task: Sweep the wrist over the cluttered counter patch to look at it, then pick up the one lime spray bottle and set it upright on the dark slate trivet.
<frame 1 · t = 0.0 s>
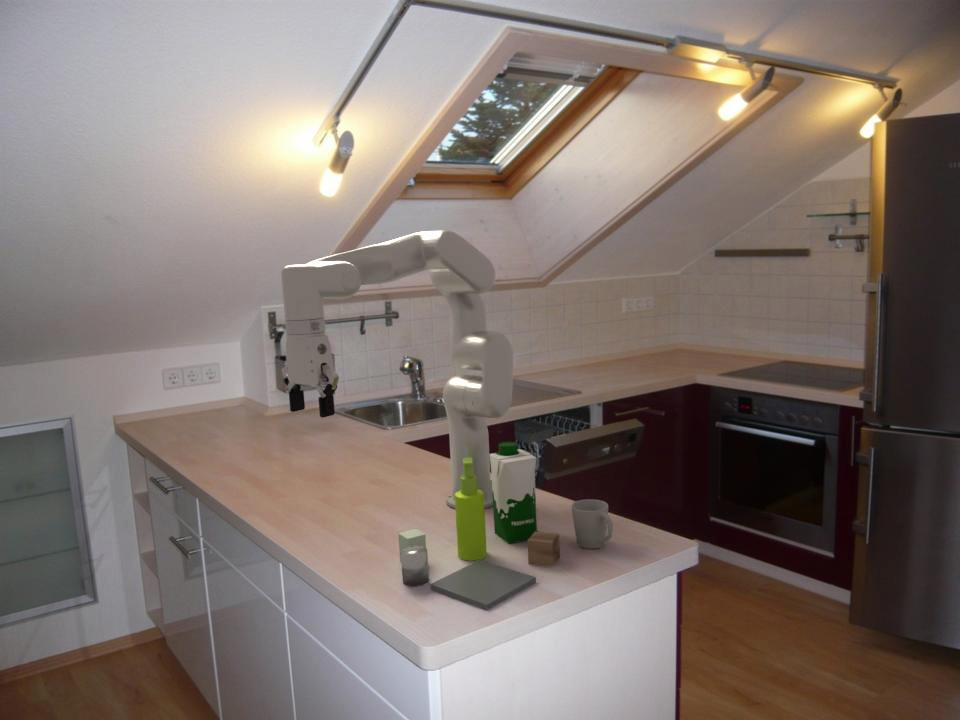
hand: (312, 413, 159), 31 cm above the worktop, fingers open, 9 cm apart
cup: (594, 546, 166), on the worktop
pale green box: (413, 562, 162), on the worktop
metal tin: (415, 580, 153), on the worktop
slate trivet: (483, 585, 150), on the worktop
milk carton: (516, 536, 174), on the worktop
lime spray bottle: (472, 554, 165), on the worktop
walnut block: (544, 560, 160), on the worktop
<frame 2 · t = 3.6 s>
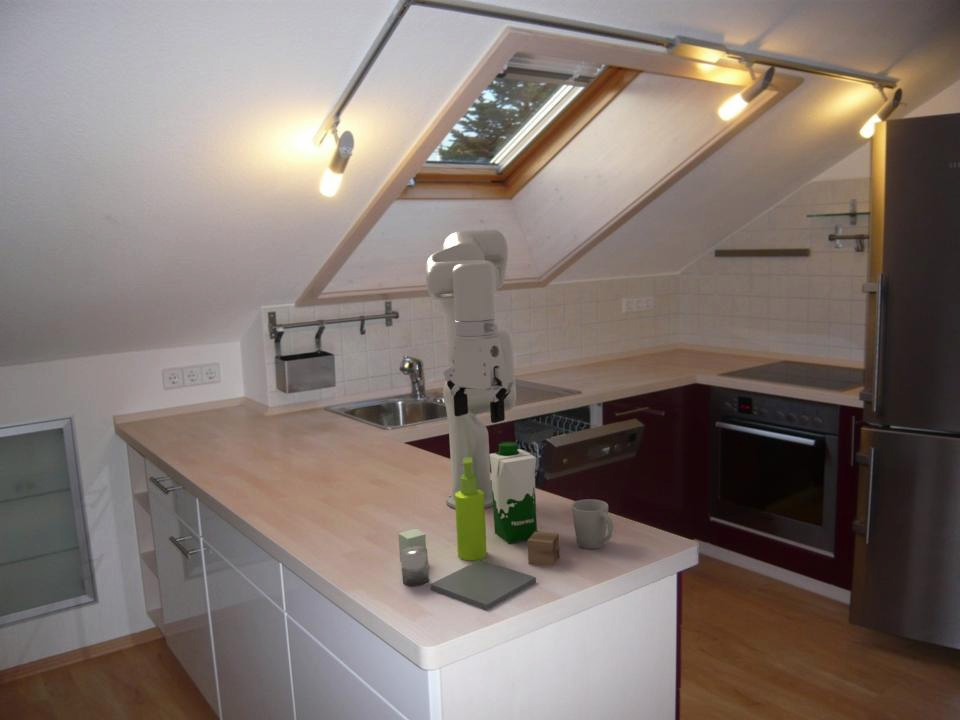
hand: (479, 418, 153), 30 cm above the worktop, fingers open, 9 cm apart
nothing on the worktop moved.
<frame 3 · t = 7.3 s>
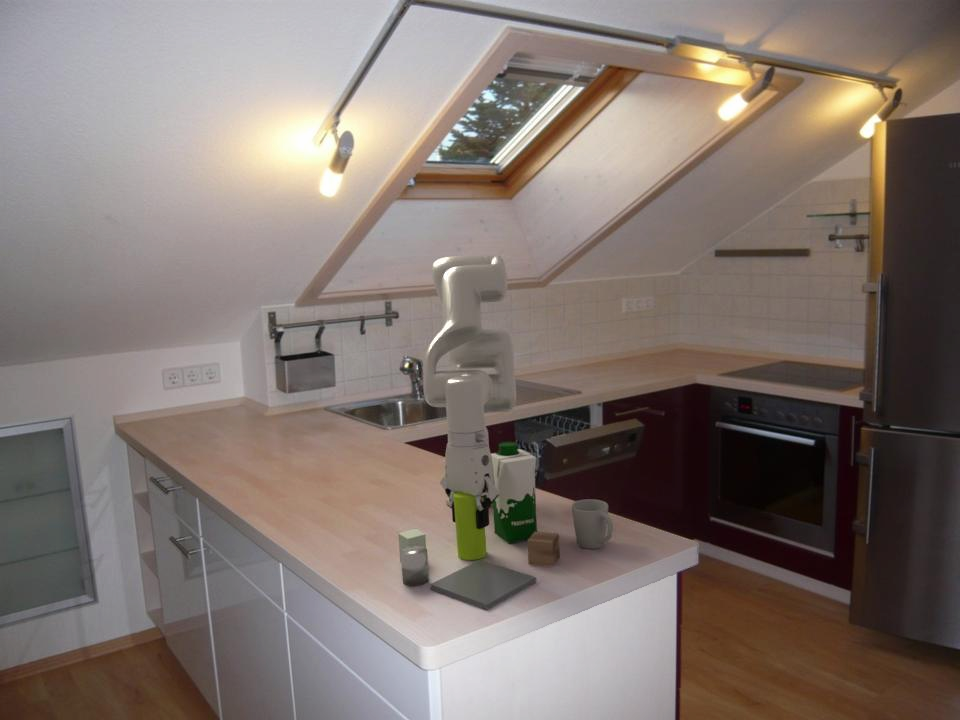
hand: (470, 523, 164), 7 cm above the worktop, fingers closed on lime spray bottle, 5 cm apart
lime spray bottle: (472, 554, 165), on the worktop, touching gripper
everything else where it was.
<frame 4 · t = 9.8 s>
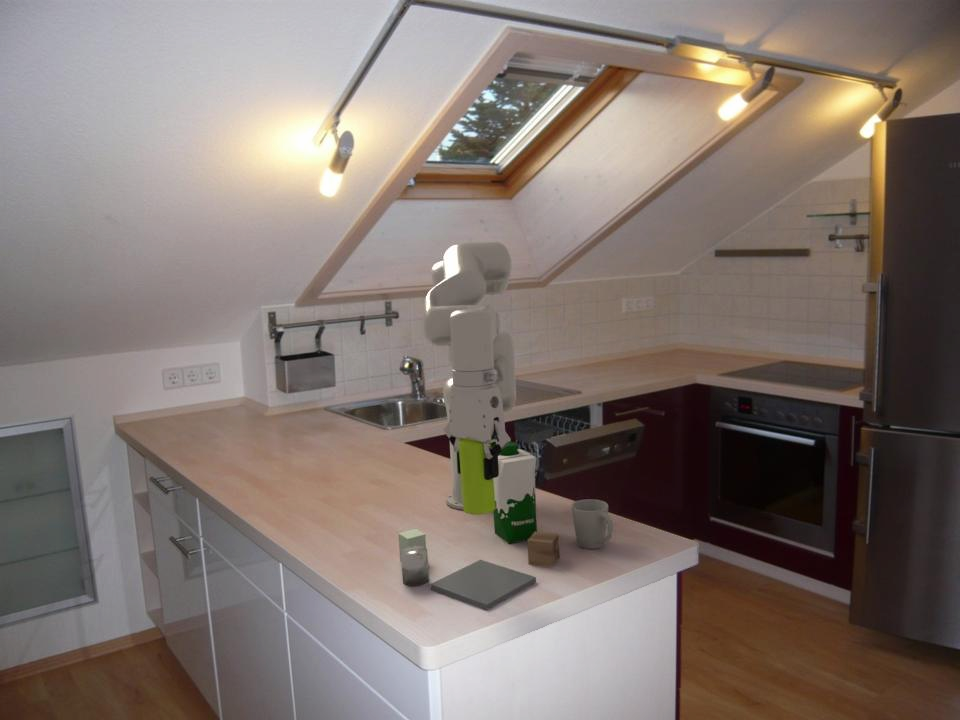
hand: (478, 474, 146), 22 cm above the worktop, fingers closed on lime spray bottle, 5 cm apart
lime spray bottle: (479, 509, 148), point 15 cm above the worktop, touching gripper
everything else where it was.
when the fingers open (9 cm above the worktop, at t = 12.6 s): lime spray bottle drops 1 cm, resting on slate trivet.
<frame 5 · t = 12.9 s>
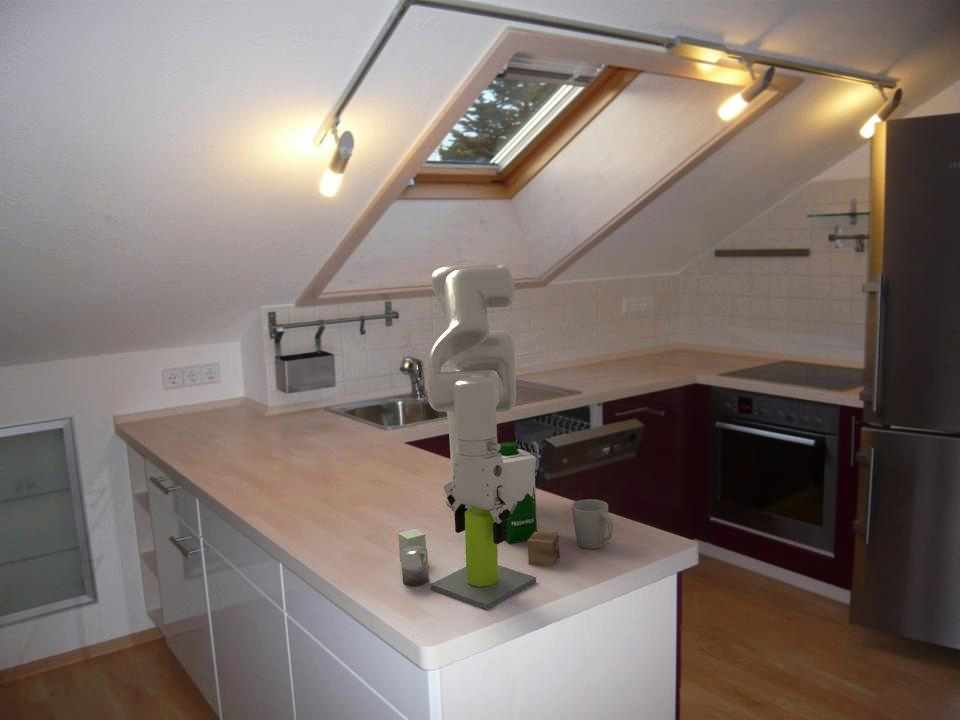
hand: (481, 536, 148), 10 cm above the worktop, fingers open, 9 cm apart
lime spray bottle: (482, 580, 150), point 1 cm above the worktop, touching slate trivet
everything else where it was.
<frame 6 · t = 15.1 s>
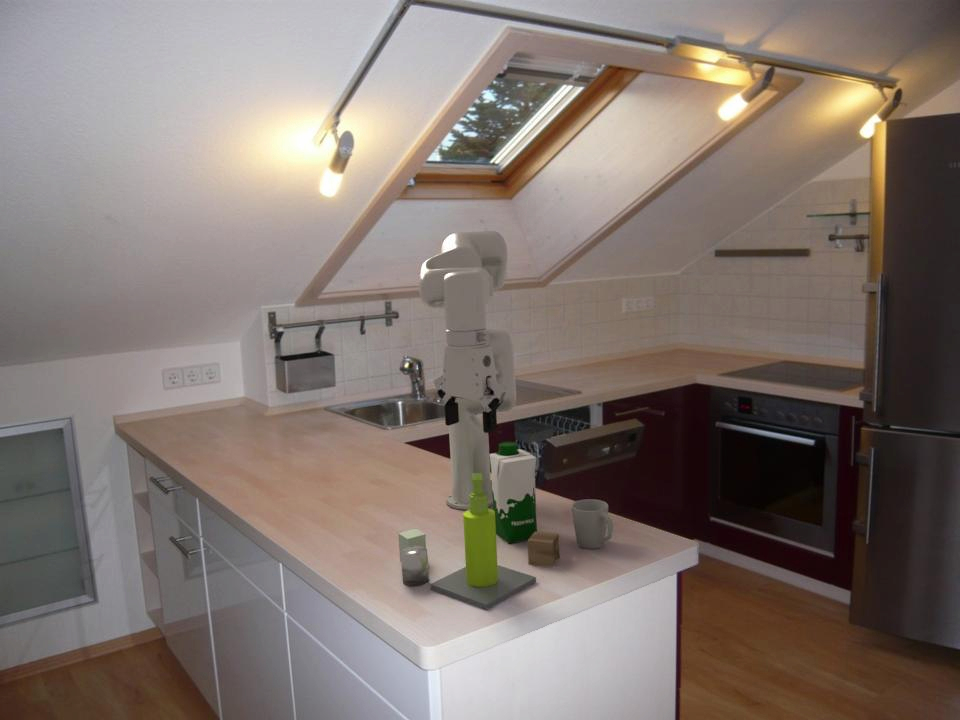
hand: (470, 427, 152), 29 cm above the worktop, fingers open, 9 cm apart
nothing on the worktop moved.
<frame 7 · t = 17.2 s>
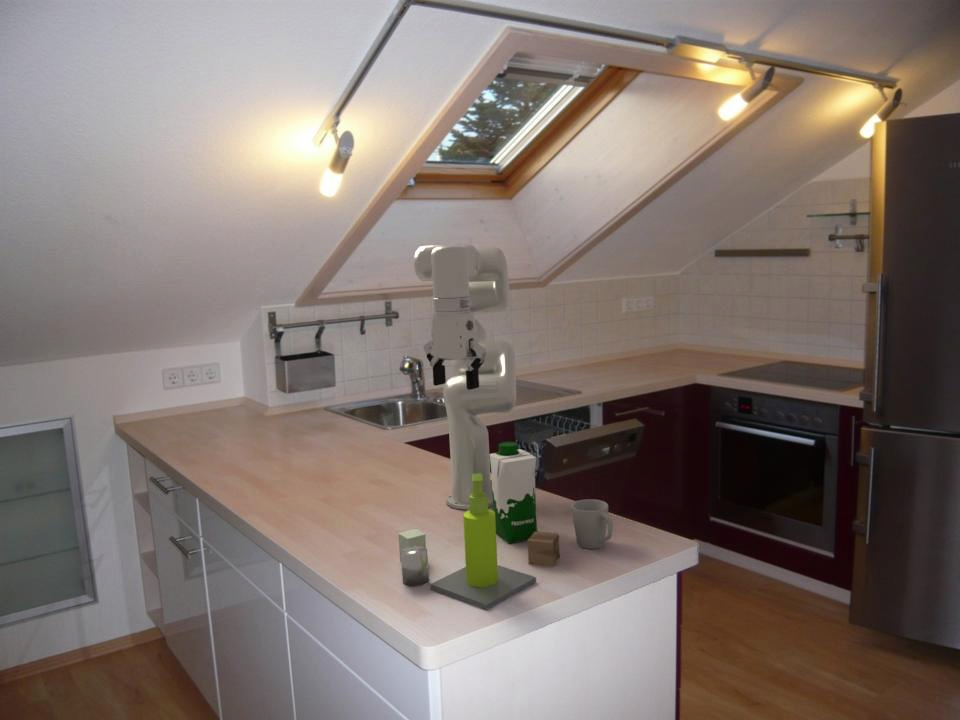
hand: (456, 386, 169), 33 cm above the worktop, fingers open, 9 cm apart
nothing on the worktop moved.
at the end: lime spray bottle inside the target area on the slate trivet (0.6 cm from its centre), point 0.8 cm above the slate trivet's base; lime spray bottle tilted 0°; the gripper is holding nothing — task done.
